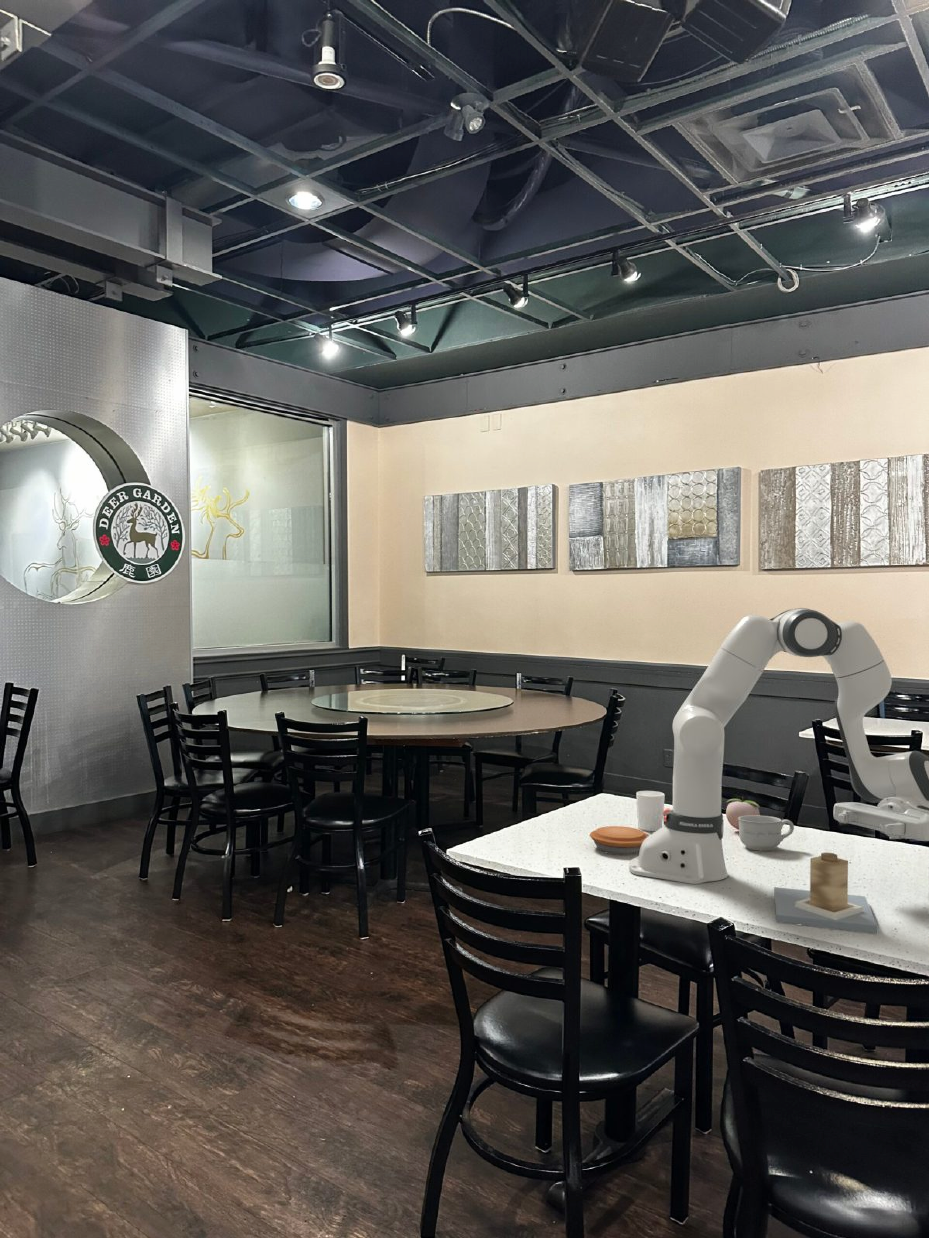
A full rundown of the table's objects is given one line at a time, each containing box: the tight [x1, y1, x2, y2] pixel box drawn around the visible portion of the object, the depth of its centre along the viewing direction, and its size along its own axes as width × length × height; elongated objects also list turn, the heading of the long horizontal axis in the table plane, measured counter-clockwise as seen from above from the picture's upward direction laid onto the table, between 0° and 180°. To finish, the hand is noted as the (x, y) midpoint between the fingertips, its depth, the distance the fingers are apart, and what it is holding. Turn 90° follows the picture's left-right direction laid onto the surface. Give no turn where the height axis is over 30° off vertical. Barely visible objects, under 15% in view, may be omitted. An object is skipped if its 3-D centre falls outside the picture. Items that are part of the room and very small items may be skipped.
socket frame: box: [795, 898, 863, 920], centre depth 171 cm, size 9×9×1 cm
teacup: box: [738, 815, 795, 852], centre depth 222 cm, size 14×11×8 cm
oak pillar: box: [809, 852, 849, 913], centre depth 171 cm, size 5×5×11 cm
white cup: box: [635, 790, 666, 832], centre depth 243 cm, size 8×8×10 cm
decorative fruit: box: [725, 796, 761, 831], centre depth 239 cm, size 9×8×10 cm
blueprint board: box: [773, 886, 878, 935], centre depth 173 cm, size 18×18×2 cm
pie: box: [589, 825, 650, 856], centre depth 221 cm, size 16×16×5 cm
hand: (861, 823), depth 178 cm, fingers open, 8 cm apart
